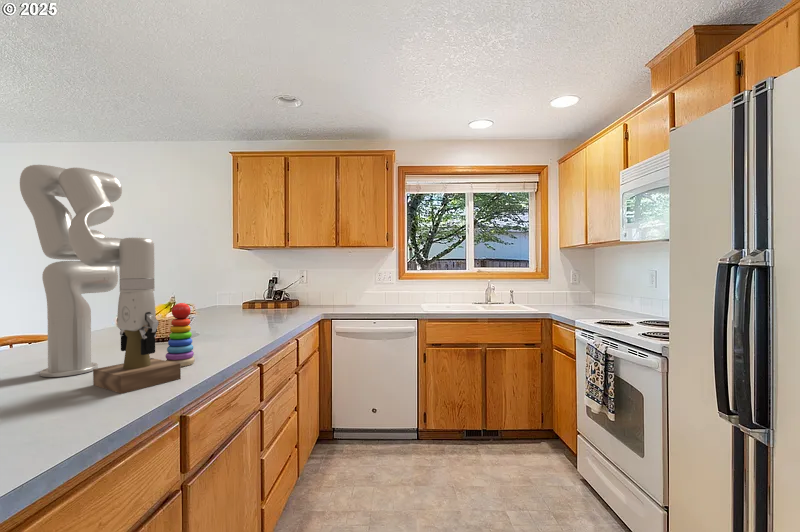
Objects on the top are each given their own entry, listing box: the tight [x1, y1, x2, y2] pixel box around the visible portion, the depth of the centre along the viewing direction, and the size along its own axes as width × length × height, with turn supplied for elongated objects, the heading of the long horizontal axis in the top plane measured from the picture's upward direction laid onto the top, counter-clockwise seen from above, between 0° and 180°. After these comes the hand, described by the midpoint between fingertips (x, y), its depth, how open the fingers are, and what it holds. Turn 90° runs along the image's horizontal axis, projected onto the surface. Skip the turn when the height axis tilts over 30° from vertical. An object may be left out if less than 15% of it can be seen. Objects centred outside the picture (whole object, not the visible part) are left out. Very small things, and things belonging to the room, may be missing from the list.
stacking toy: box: [165, 302, 195, 367], centre depth 120 cm, size 8×8×19 cm
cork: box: [123, 329, 151, 369], centre depth 102 cm, size 6×6×11 cm
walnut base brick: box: [92, 357, 182, 395], centre depth 101 cm, size 14×14×4 cm
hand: (137, 351), depth 101 cm, fingers open, 9 cm apart
